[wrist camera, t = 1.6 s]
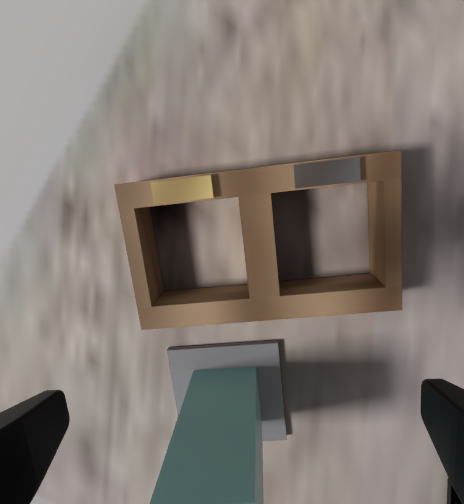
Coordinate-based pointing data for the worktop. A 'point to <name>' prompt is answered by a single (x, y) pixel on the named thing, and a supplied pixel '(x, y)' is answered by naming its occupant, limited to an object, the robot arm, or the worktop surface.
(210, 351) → the mat
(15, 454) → the robot arm
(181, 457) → the plug
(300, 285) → the socket box
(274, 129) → the worktop surface
